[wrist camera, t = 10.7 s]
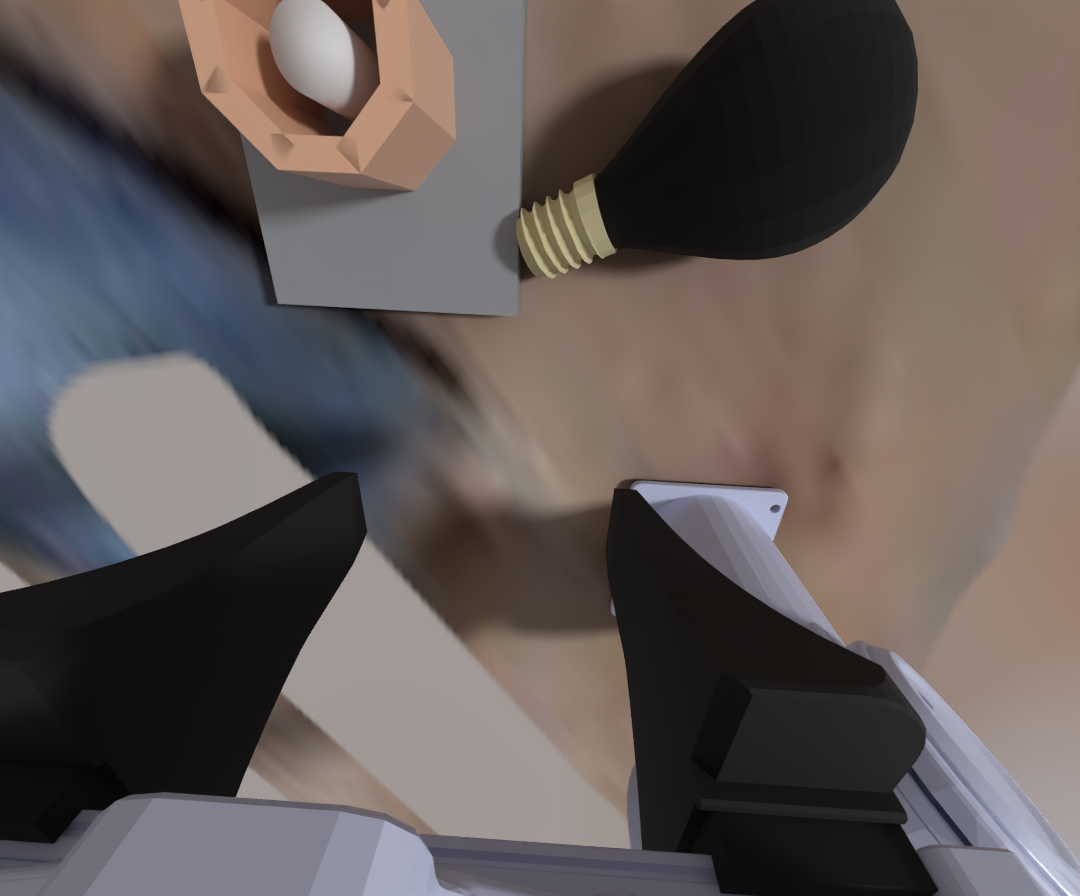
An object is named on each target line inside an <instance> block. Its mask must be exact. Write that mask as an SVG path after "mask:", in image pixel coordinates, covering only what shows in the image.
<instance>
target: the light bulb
mask: <svg viewBox="0 0 1080 896" xmlns="http://www.w3.org/2000/svg"><path fill="white" fill-rule="evenodd" d="M917 94H918V67H917V56H916V50H915V45H914V40H913V34H912V31H911V29H910V28H909V26H908V24H907V22H906V20H905V18H904V16H903V14H902V12H901V10H900V9H899V7H898V5H897V3H896V1H895V0H755V1H754V2H752V3H751V4H749V5H748V6H747V7H745V8H744V9H742V10H741V11H740V12H739V13H738V14H737V15H735V16H734V17H733V18H732V19H731V20H730V21H729V22H727V23H726V24H725V25H724V26H723V27H722V28H721V29H720V30H719V31H718V32H717V33H716V34H715V35H714V36H713V37H712V38H711V39H710V40H709V41H708V42H707V43H706V44H705V45H704V46H703V47H702V49H701V50H700V51H699V52H698V53H697V54H696V55H695V57H694V58H693V59H692V60H691V61H690V62H689V63H688V64H687V66H686V67H685V68H684V69H683V70H682V72H681V73H680V74H679V75H678V77H677V78H676V79H675V80H674V81H673V83H672V84H671V85H670V86H669V88H668V89H667V90H666V91H665V93H664V94H663V95H662V97H661V98H660V99H659V100H658V102H657V103H656V104H655V106H654V107H653V108H652V109H651V111H650V112H649V113H648V115H647V116H646V117H645V119H644V120H643V121H642V123H641V124H640V125H639V126H638V128H637V129H636V130H635V132H634V133H633V134H632V136H631V137H630V138H629V140H628V141H627V142H626V144H625V145H624V146H623V147H622V149H621V150H620V151H619V152H618V154H617V155H616V156H615V157H614V159H613V160H612V161H611V162H610V163H609V164H608V165H607V167H606V168H605V169H604V170H603V171H602V172H601V173H600V174H599V175H598V176H597V175H596V174H594V173H593V174H591V175H588V176H586V177H584V178H582V179H580V180H578V181H576V182H574V183H573V190H572V191H571V192H570V193H569V194H565V193H564V192H563V191H562V190H559V197H558V198H557V199H556V200H552V199H551V197H550V196H546V203H545V204H544V206H540V205H539V203H538V202H534V204H533V210H532V211H531V212H528V211H527V210H526V209H525V208H521V217H520V218H518V219H517V222H516V234H517V239H518V245H519V249H520V252H521V255H522V257H523V259H524V261H525V262H526V263H527V265H528V267H529V269H530V270H531V271H532V273H533V274H534V275H535V276H537V277H542V276H545V275H547V276H548V277H550V278H554V277H555V276H556V274H557V270H559V271H561V272H563V273H564V274H565V273H566V272H568V269H569V266H570V265H571V266H572V267H574V268H576V269H578V268H579V267H580V266H581V261H582V260H584V261H585V262H587V263H588V264H590V263H591V262H592V260H593V256H594V255H599V256H600V257H601V258H602V259H603V258H604V257H606V256H608V255H611V254H614V253H616V252H617V248H638V249H647V250H655V251H662V252H669V253H676V254H682V255H690V256H698V257H706V258H716V259H732V260H758V259H767V258H776V257H780V256H784V255H788V254H793V253H796V252H799V251H801V250H804V249H806V248H809V247H811V246H813V245H815V244H817V243H819V242H821V241H823V240H824V239H826V238H828V237H830V236H831V235H833V234H834V233H836V232H837V231H839V230H840V229H842V228H843V227H844V226H845V225H847V224H848V223H849V222H850V221H852V220H853V219H854V218H855V217H856V216H857V215H858V214H859V213H860V212H861V211H862V210H863V209H864V208H865V207H866V206H867V205H868V204H869V203H870V201H871V200H872V199H873V198H874V197H875V195H876V194H877V193H878V192H879V190H880V189H881V188H882V187H883V185H884V184H885V183H886V182H887V180H888V179H889V178H890V176H891V175H892V173H893V171H894V170H895V168H896V166H897V164H898V163H899V161H900V158H901V155H902V153H903V150H904V148H905V145H906V142H907V139H908V136H909V133H910V131H911V128H912V125H913V121H914V115H915V108H916V101H917Z"/></svg>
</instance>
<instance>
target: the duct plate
mask: <svg viewBox="0 0 1080 896" xmlns="http://www.w3.org/2000/svg"><path fill="white" fill-rule="evenodd" d="M419 2H420V4H421V5H422V7H423V9H424V10H425V12H426V14H427V15H428V17H429V19H430V20H431V22H432V24H433V25H434V27H435V29H436V30H437V32H438V34H439V35H440V37H441V39H442V40H443V42H444V44H445V45H446V47H447V49H448V50H449V52H450V54H451V55H452V57H453V74H454V102H455V129H456V141H455V142H454V144H453V145H452V146H451V147H450V149H449V150H448V151H447V152H446V154H445V155H444V156H443V157H442V158H441V160H440V161H439V162H438V163H437V165H436V166H435V167H434V168H433V170H432V171H431V172H430V173H429V175H428V176H427V177H426V178H425V179H424V181H423V182H422V183H421V184H420V186H419V187H418V188H417V189H416V191H407V190H387V189H366V188H353V187H349V186H344V185H340V184H336V183H332V182H327V181H323V180H319V179H315V178H310V177H306V176H302V175H298V174H293V173H289V172H285V171H281V170H278V169H277V168H276V167H275V166H274V165H273V164H272V163H271V162H270V161H269V160H268V159H267V158H266V157H265V156H264V155H263V154H262V153H261V152H260V151H259V150H258V149H257V148H256V147H255V146H254V145H253V144H252V143H251V142H250V141H249V140H248V139H247V138H246V137H245V136H244V135H243V134H242V133H241V132H240V136H241V140H242V145H243V149H244V154H245V158H246V163H247V167H248V172H249V176H250V181H251V185H252V190H253V194H254V199H255V203H256V207H257V212H258V216H259V221H260V225H261V230H262V234H263V239H264V243H265V248H266V252H267V257H268V261H269V266H270V270H271V275H272V279H273V284H274V288H275V293H276V297H277V302H278V304H291V305H310V306H328V307H347V308H365V309H384V310H402V311H421V312H439V313H457V314H476V315H494V316H513V317H517V316H518V314H519V307H520V263H521V252H520V249H519V245H518V239H517V234H516V222H517V219H518V218H520V217H521V208H522V174H523V130H524V86H525V41H526V0H419ZM270 45H271V50H272V54H273V57H274V60H275V62H276V65H277V67H278V68H279V70H280V72H281V74H282V75H283V77H284V78H285V79H286V80H287V82H288V83H289V84H290V85H291V86H292V87H293V88H295V89H296V90H297V91H299V92H300V93H302V94H304V95H305V96H307V97H309V98H311V99H313V100H315V101H316V102H318V103H320V104H322V107H323V114H324V121H325V124H326V125H327V126H328V127H329V128H330V129H331V130H332V131H333V133H334V134H335V135H336V136H340V137H343V136H344V135H345V133H346V132H347V131H348V129H349V128H350V126H351V125H352V123H353V122H354V121H355V119H356V118H357V116H358V115H359V113H360V112H361V111H362V109H363V108H364V106H365V105H366V104H367V102H368V101H369V99H370V98H371V96H372V95H373V94H374V92H375V91H376V89H377V88H378V86H379V85H380V75H379V64H378V54H377V44H376V33H375V23H374V22H353V21H342V20H341V19H340V18H339V17H338V16H337V15H336V14H335V13H334V12H333V11H332V10H331V9H330V8H329V7H328V6H327V5H326V4H325V3H324V2H322V1H321V0H282V1H281V2H280V3H279V4H278V6H277V7H276V9H275V11H274V13H273V16H272V19H271V23H270Z"/></svg>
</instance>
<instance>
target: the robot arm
mask: <svg viewBox="0 0 1080 896" xmlns="http://www.w3.org/2000/svg"><path fill="white" fill-rule="evenodd" d="M787 501H788V496H787V494H786V493H785V492H784V491H783V490H781V489H772V488H756V487H740V486H723V485H707V484H690V483H674V482H657V481H636V482H634V483H633V484H632V485H631V487H630V489H617V488H614V495H613V501H612V508H611V515H610V522H609V529H608V535H607V542H606V556H607V569H608V580H609V585H610V590H611V595H612V600H611V606H610V607H611V613H612V614H613V615H614V616H616V619H617V623H618V628H619V633H620V638H621V642H622V647H623V652H624V658H625V664H626V670H627V679H628V689H629V698H630V707H631V718H632V728H633V739H634V750H635V762H636V763H635V765H634V767H633V769H632V772H631V775H630V778H629V784H628V791H627V818H628V829H629V838H630V846H631V849H620V848H606V847H593V846H580V845H566V844H552V843H537V842H525V841H511V840H496V839H482V838H470V837H456V836H442V835H429V834H418V833H417V831H416V830H415V829H414V828H413V827H411V826H409V825H407V824H405V823H403V822H401V821H399V820H397V819H395V818H393V817H391V816H389V815H387V814H385V813H381V812H376V811H371V810H366V809H361V808H356V807H351V806H347V805H334V804H320V803H306V802H292V801H278V800H263V799H249V798H236V795H237V792H238V789H239V787H240V784H241V782H242V779H243V776H244V774H245V772H246V769H247V767H248V765H249V762H250V760H251V758H252V755H253V753H254V750H255V748H256V746H257V743H258V741H259V739H260V736H261V734H262V731H263V729H264V727H265V724H266V722H267V720H268V718H269V716H270V714H271V711H272V709H273V707H274V705H275V703H276V700H277V698H278V696H279V694H280V692H281V689H282V687H283V685H284V683H285V681H286V679H287V677H288V675H289V673H290V671H291V669H292V667H293V665H294V663H295V661H296V659H297V656H298V655H299V652H300V650H301V649H302V647H303V645H304V643H305V641H306V640H307V638H308V636H309V634H310V633H311V631H312V629H313V628H314V626H315V625H316V623H317V621H318V620H319V618H320V617H321V615H322V613H323V612H324V610H325V609H326V607H327V605H328V604H329V602H330V601H331V599H332V597H333V596H334V594H335V593H336V591H337V589H338V588H339V586H340V584H341V583H342V581H343V580H344V578H345V576H346V575H347V573H348V571H349V570H350V568H351V567H352V565H353V563H354V561H355V559H356V557H357V554H358V552H359V550H360V548H361V545H362V543H363V541H364V538H365V536H366V534H367V528H366V522H365V517H364V511H363V505H362V499H361V493H360V488H359V482H358V476H357V473H349V472H333V473H331V474H328V475H326V476H324V477H321V478H319V479H317V480H315V481H313V482H311V483H309V484H307V485H305V486H303V487H301V488H299V489H297V490H295V491H293V492H291V493H289V494H287V495H285V496H283V497H281V498H279V499H277V500H275V501H273V502H271V503H269V504H267V505H265V506H263V507H261V508H259V509H257V510H254V511H252V512H250V513H248V514H246V515H244V516H242V517H239V518H237V519H235V520H233V521H231V522H228V523H227V524H224V525H222V526H219V527H217V528H215V529H212V530H210V531H207V532H205V533H203V534H200V535H197V536H195V537H192V538H190V539H187V540H184V541H182V542H179V543H176V544H174V545H171V546H168V547H165V548H162V549H159V550H156V551H153V552H150V553H147V554H144V555H141V556H138V557H135V558H131V559H128V560H125V561H122V562H119V563H116V564H113V565H109V566H106V567H102V568H99V569H95V570H92V571H88V572H84V573H81V574H77V575H73V576H69V577H65V578H62V579H58V580H54V581H50V582H46V583H42V584H38V585H33V586H29V587H25V588H21V589H16V590H11V591H6V592H2V593H0V896H1080V863H1079V861H1078V860H1077V859H1076V857H1075V856H1074V854H1073V853H1072V852H1071V850H1070V849H1069V848H1068V846H1067V845H1066V844H1065V843H1064V841H1063V840H1062V839H1061V837H1060V836H1059V835H1058V833H1057V832H1056V831H1055V830H1054V828H1053V827H1052V826H1051V825H1050V823H1049V822H1048V821H1047V819H1046V818H1045V817H1044V816H1043V815H1042V813H1041V812H1040V811H1039V810H1038V808H1037V807H1036V806H1035V805H1034V803H1033V802H1032V801H1031V800H1030V799H1029V797H1028V796H1027V795H1026V794H1025V793H1024V791H1023V790H1022V789H1021V788H1020V787H1019V785H1018V784H1017V783H1016V782H1015V781H1014V780H1013V778H1012V777H1011V776H1010V775H1009V773H1008V772H1007V771H1006V770H1005V769H1004V768H1003V766H1002V765H1001V764H1000V763H999V762H998V761H997V759H996V758H995V757H994V756H993V755H992V754H991V752H990V751H989V750H988V749H987V748H986V747H985V746H984V744H983V743H982V742H981V741H980V740H979V739H978V738H977V737H976V735H975V734H974V733H973V732H972V731H971V730H970V729H969V728H968V727H967V725H966V724H965V723H964V722H963V721H962V720H961V719H960V718H959V716H958V715H957V714H956V713H955V712H954V711H953V710H952V709H951V708H950V707H949V706H948V704H947V703H946V702H945V701H944V700H943V699H942V698H941V697H940V696H939V695H938V694H937V693H936V692H935V691H934V690H933V689H932V688H931V686H930V685H929V684H928V683H927V682H926V681H925V680H924V679H923V678H922V677H921V676H920V675H919V674H918V673H917V672H916V671H915V670H914V669H913V668H912V667H911V666H909V665H908V664H907V663H906V662H905V661H904V660H903V659H902V658H901V657H899V656H898V655H897V654H896V653H894V652H892V651H890V650H887V649H883V648H879V647H876V646H871V645H870V644H868V643H866V642H864V641H861V640H858V641H854V642H852V643H851V644H849V645H848V646H845V645H844V643H843V642H842V640H841V639H840V637H839V636H838V635H837V633H836V632H835V630H834V629H833V627H832V626H831V625H830V623H829V622H828V620H827V619H826V617H825V616H824V614H823V613H822V612H821V610H820V609H819V607H818V606H817V604H816V603H815V602H814V600H813V599H812V597H811V596H810V594H809V593H808V592H807V590H806V589H805V587H804V586H803V584H802V583H801V581H800V580H799V579H798V577H797V576H796V574H795V573H794V571H793V570H792V569H791V567H790V566H789V564H788V563H787V561H786V560H785V558H784V557H783V556H782V554H781V553H780V551H779V550H778V548H777V547H776V546H775V544H774V543H773V539H774V537H775V534H776V531H777V528H778V526H779V523H780V520H781V518H782V515H783V512H784V509H785V507H786V504H787ZM773 505H777V506H776V507H775V508H772V509H770V508H771V507H772V506H773Z"/></svg>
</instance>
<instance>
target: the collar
mask: <svg viewBox="0 0 1080 896" xmlns="http://www.w3.org/2000/svg"><path fill="white" fill-rule="evenodd" d="M281 1H282V0H179V4H180V8H181V12H182V16H183V20H184V24H185V28H186V32H187V36H188V40H189V44H190V48H191V52H192V56H193V60H194V64H195V68H196V72H197V76H198V80H199V84H200V88H201V93H202V94H203V95H204V96H205V97H206V98H207V99H208V100H209V101H210V102H211V103H212V104H213V105H214V106H215V107H216V108H217V109H218V110H219V111H220V112H221V113H222V114H223V115H224V116H225V117H226V118H227V119H228V120H229V121H230V122H231V123H232V124H233V125H234V126H235V127H236V128H237V129H238V130H239V131H240V132H241V133H242V134H243V135H244V136H245V137H246V138H247V139H248V140H249V141H250V142H251V143H252V144H253V145H254V146H255V147H256V148H257V149H258V150H259V151H260V152H261V153H262V154H263V155H264V156H265V157H266V158H267V159H268V160H269V161H270V162H271V163H272V164H273V165H274V166H275V167H276V168H277V169H278V170H281V171H285V172H289V173H293V174H298V175H302V176H306V177H310V178H315V179H319V180H323V181H327V182H332V183H336V184H340V185H344V186H349V187H353V188H366V189H387V190H407V191H416V189H417V188H418V187H419V186H420V184H421V183H422V182H423V181H424V179H425V178H426V177H427V176H428V175H429V173H430V172H431V171H432V170H433V168H434V167H435V166H436V165H437V163H438V162H439V161H440V160H441V158H442V157H443V156H444V155H445V154H446V152H447V151H448V150H449V149H450V147H451V146H452V145H453V144H454V142H455V141H456V129H455V102H454V74H453V57H452V55H451V54H450V52H449V50H448V49H447V47H446V45H445V44H444V42H443V40H442V39H441V37H440V35H439V34H438V32H437V30H436V29H435V27H434V25H433V24H432V22H431V20H430V19H429V17H428V15H427V14H426V12H425V10H424V9H423V7H422V5H421V4H420V2H419V0H321V1H322V2H324V3H325V4H326V5H327V6H328V7H329V8H330V9H331V10H332V11H333V12H334V13H335V14H336V15H337V16H338V17H339V18H340V19H341V20H342V21H353V22H374V23H375V33H376V44H377V54H378V64H379V75H380V85H379V86H378V88H377V89H376V91H375V92H374V94H373V95H372V96H371V98H370V99H369V101H368V102H367V104H366V105H365V106H364V108H363V109H362V111H361V112H360V113H359V115H358V116H357V118H356V119H355V121H354V122H353V123H352V125H351V126H350V128H349V129H348V131H347V132H346V133H345V135H344V136H343V137H340V136H336V135H335V134H334V133H333V131H332V130H331V129H330V128H329V127H328V126H327V125H326V124H325V121H324V114H323V107H322V104H320V103H318V102H316V101H315V100H313V99H311V98H309V97H307V96H305V95H304V94H302V93H300V92H299V91H297V90H296V89H295V88H293V87H292V86H291V85H290V84H289V83H288V82H287V80H286V79H285V78H284V77H283V75H282V74H281V72H280V70H279V68H278V67H277V65H276V62H275V60H274V57H273V54H272V50H271V45H270V23H271V19H272V16H273V13H274V11H275V9H276V7H277V6H278V4H279V3H280V2H281Z"/></svg>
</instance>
